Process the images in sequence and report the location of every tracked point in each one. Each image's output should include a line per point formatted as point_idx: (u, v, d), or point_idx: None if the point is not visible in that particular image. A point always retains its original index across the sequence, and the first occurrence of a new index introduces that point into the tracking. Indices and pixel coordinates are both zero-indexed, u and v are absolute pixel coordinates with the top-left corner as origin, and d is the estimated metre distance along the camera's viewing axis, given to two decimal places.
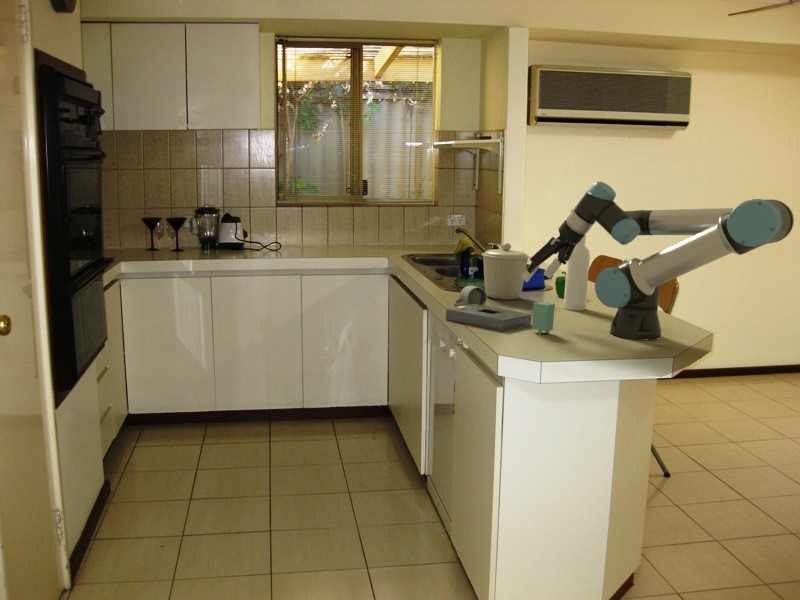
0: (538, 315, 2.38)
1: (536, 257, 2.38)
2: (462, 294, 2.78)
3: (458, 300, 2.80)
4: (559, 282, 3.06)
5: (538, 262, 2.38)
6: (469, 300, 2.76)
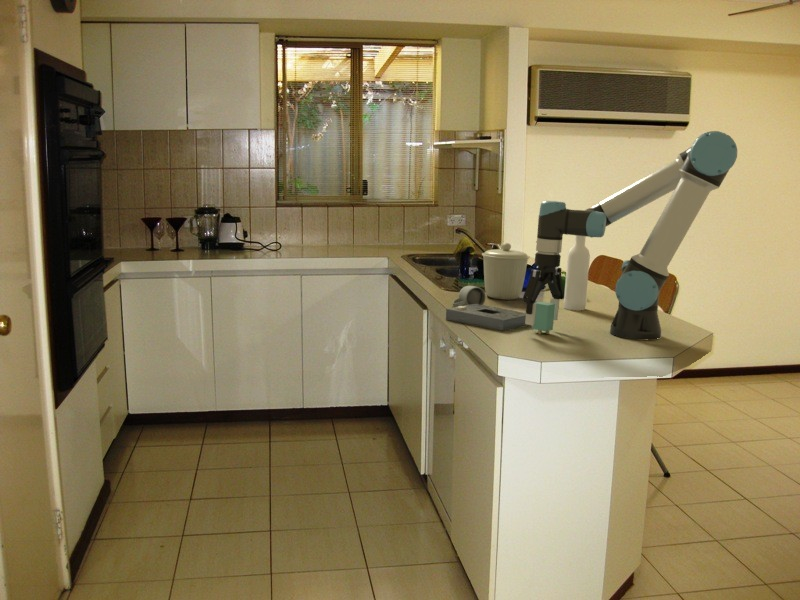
0: (538, 315, 2.38)
1: (527, 294, 2.31)
2: (461, 294, 2.78)
3: (457, 300, 2.80)
4: None
5: (531, 298, 2.31)
6: (468, 300, 2.76)
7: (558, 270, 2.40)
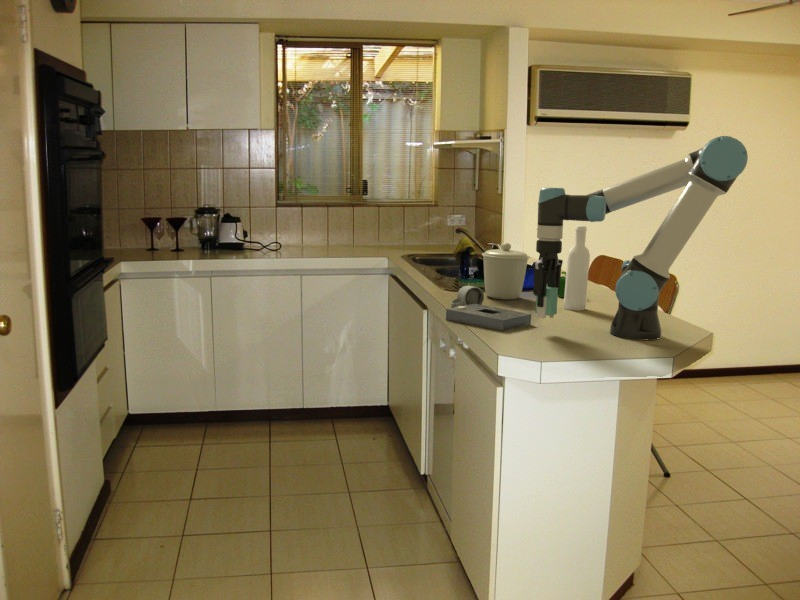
0: None
1: (536, 288, 2.33)
2: (459, 294, 2.78)
3: (455, 300, 2.80)
4: None
5: (541, 290, 2.33)
6: (466, 300, 2.76)
7: (559, 261, 2.40)
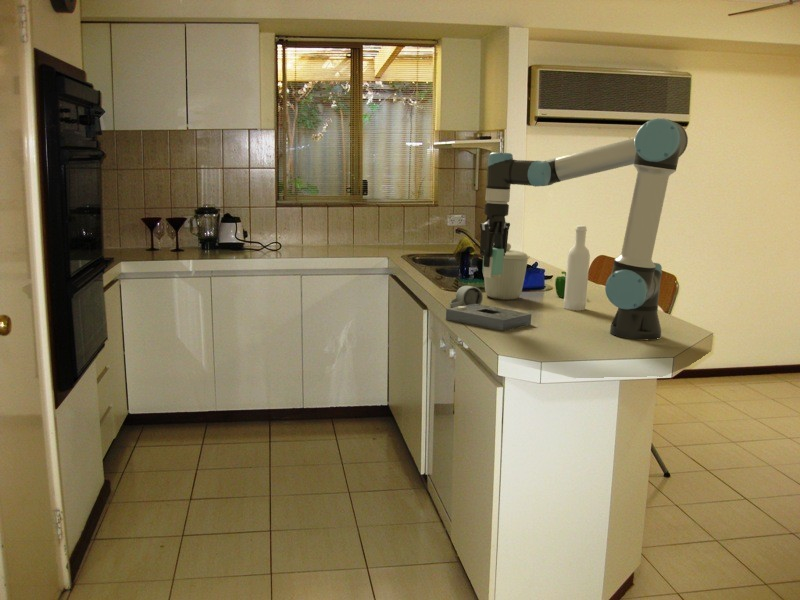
0: None
1: (483, 248, 2.44)
2: (458, 294, 2.78)
3: (454, 300, 2.79)
4: (559, 282, 3.06)
5: (487, 250, 2.44)
6: (465, 300, 2.76)
7: (507, 224, 2.51)
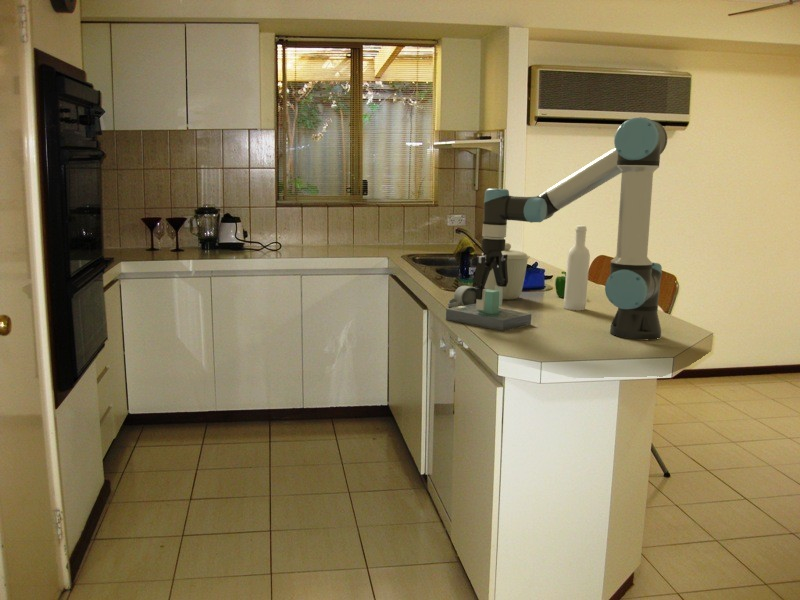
0: None
1: (476, 281, 2.45)
2: (456, 294, 2.78)
3: (452, 300, 2.79)
4: (559, 282, 3.06)
5: (480, 284, 2.45)
6: (463, 300, 2.76)
7: (504, 256, 2.53)
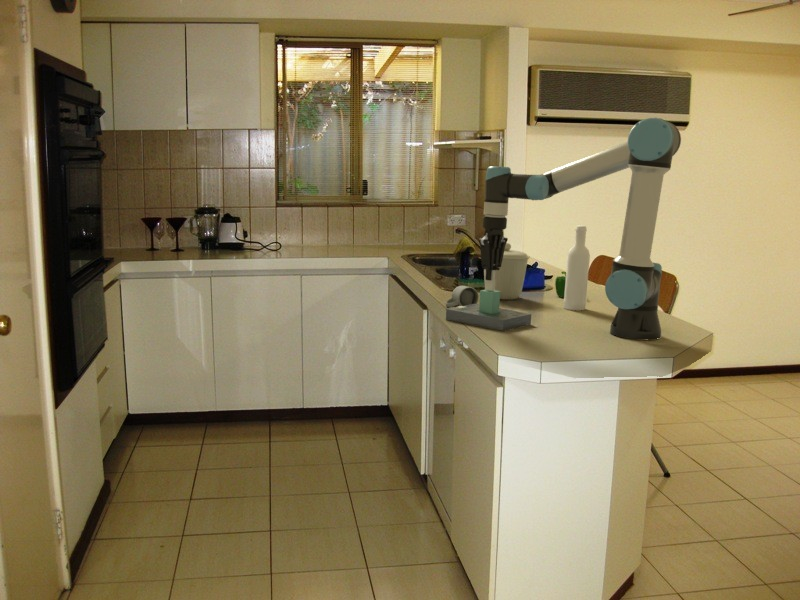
0: (485, 302, 2.50)
1: (484, 263, 2.47)
2: (454, 294, 2.77)
3: (450, 300, 2.79)
4: (559, 282, 3.06)
5: (489, 264, 2.47)
6: (461, 300, 2.75)
7: (504, 238, 2.52)
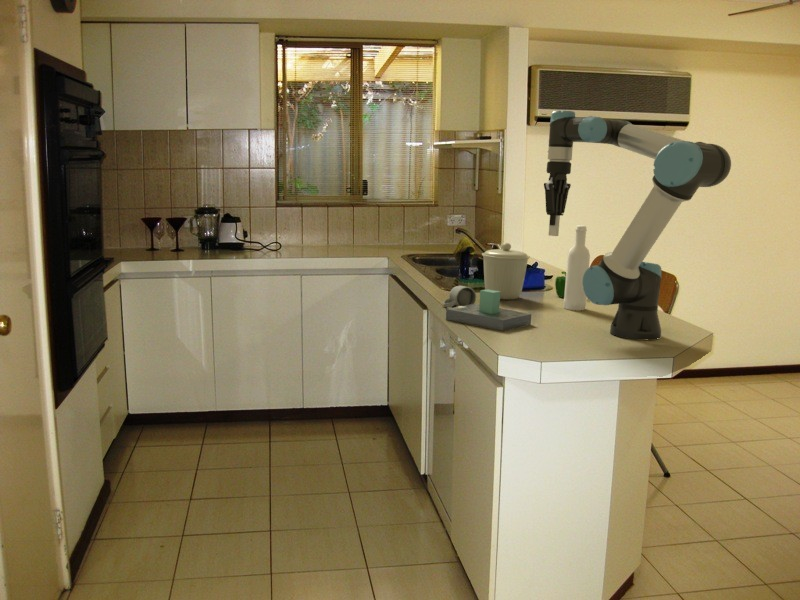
0: (485, 302, 2.50)
1: (548, 207, 2.48)
2: (451, 294, 2.77)
3: (447, 300, 2.79)
4: (559, 282, 3.06)
5: (554, 209, 2.48)
6: (458, 300, 2.75)
7: (568, 184, 2.53)
